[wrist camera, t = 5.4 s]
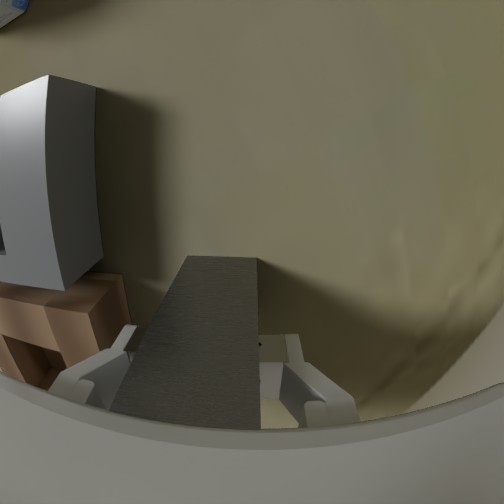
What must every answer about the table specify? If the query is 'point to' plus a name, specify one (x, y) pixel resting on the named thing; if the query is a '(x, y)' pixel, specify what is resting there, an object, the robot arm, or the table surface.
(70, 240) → the grey slot block
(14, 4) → the medicine box
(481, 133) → the table surface
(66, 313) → the walnut bore block
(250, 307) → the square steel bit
